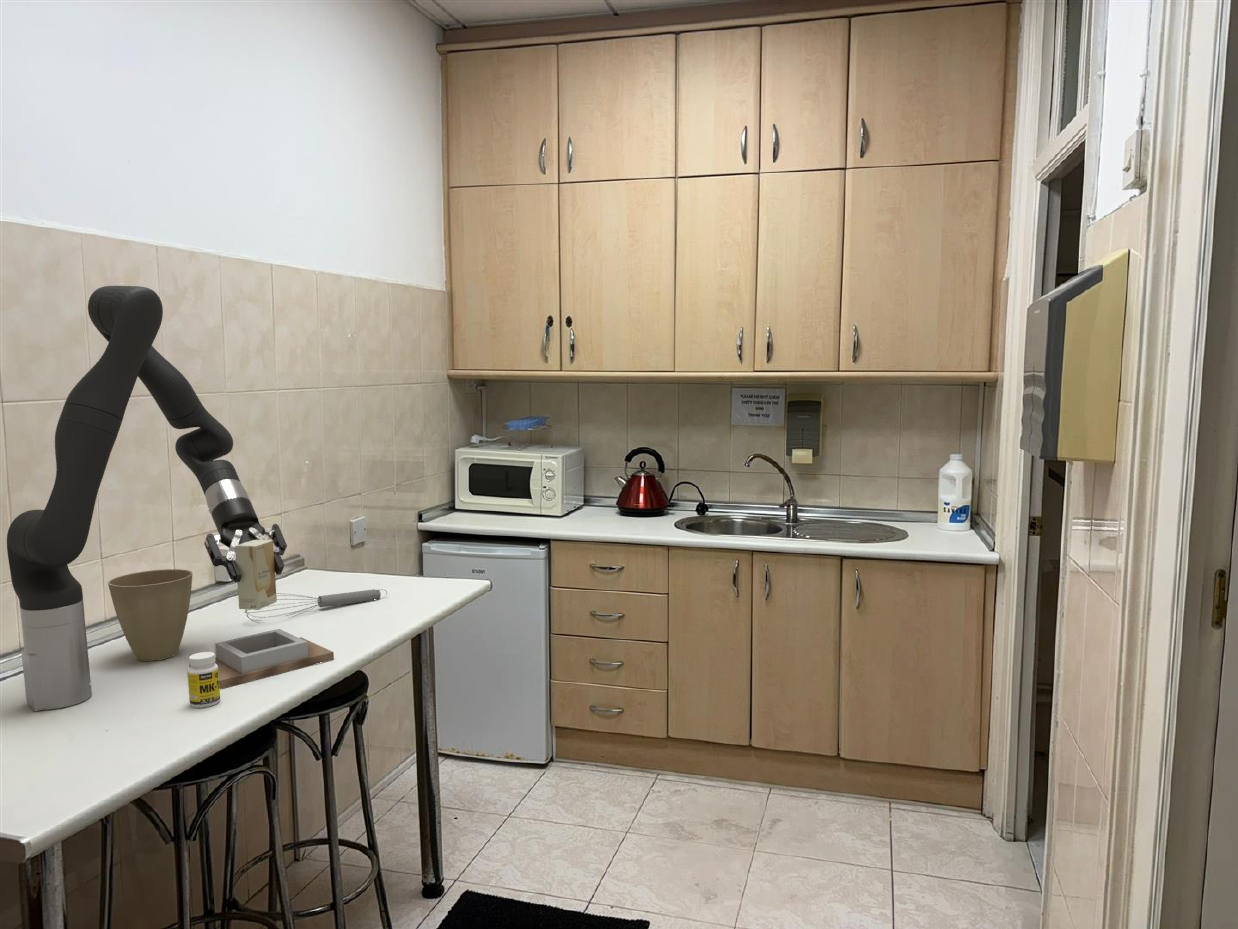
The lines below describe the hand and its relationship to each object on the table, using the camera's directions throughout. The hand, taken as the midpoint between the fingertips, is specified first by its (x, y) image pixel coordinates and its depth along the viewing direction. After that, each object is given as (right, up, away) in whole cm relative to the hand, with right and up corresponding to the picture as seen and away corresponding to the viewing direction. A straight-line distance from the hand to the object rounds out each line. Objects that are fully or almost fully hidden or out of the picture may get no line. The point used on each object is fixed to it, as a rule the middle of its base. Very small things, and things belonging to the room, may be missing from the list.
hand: (259, 575), depth 172 cm
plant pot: (-24, -17, +11) cm, 32 cm away
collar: (-1, -16, +3) cm, 16 cm away
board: (-1, -17, +3) cm, 18 cm away
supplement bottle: (-3, -20, -16) cm, 26 cm away
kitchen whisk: (-3, -14, +41) cm, 44 cm away
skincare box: (-1, -6, +2) cm, 6 cm away
